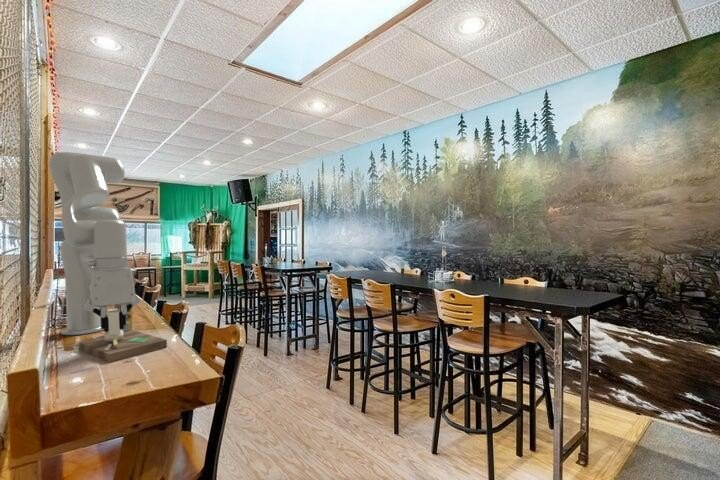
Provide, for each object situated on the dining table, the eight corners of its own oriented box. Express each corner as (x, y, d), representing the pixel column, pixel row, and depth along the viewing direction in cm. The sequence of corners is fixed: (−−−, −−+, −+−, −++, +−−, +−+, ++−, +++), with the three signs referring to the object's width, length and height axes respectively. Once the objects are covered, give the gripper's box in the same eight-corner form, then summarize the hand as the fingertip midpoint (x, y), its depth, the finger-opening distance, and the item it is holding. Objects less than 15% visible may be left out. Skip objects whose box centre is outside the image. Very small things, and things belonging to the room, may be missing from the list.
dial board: (79, 349, 100) (79, 341, 100) (134, 336, 112) (133, 329, 112) (109, 362, 89) (108, 353, 89) (166, 346, 100) (166, 339, 100)
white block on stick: (104, 338, 102) (103, 310, 102) (122, 335, 105) (121, 308, 105) (105, 348, 92) (104, 317, 92) (126, 345, 95) (124, 315, 95)
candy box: (134, 335, 114) (132, 287, 113) (117, 338, 111) (115, 288, 111) (130, 330, 121) (128, 284, 120) (114, 332, 118) (112, 286, 118)
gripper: (76, 267, 92) (79, 338, 93) (147, 262, 104) (150, 326, 104) (72, 265, 98) (75, 333, 98) (140, 261, 109) (143, 322, 109)
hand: (113, 329), depth 101 cm, fingers closed on white block on stick, 3 cm apart
